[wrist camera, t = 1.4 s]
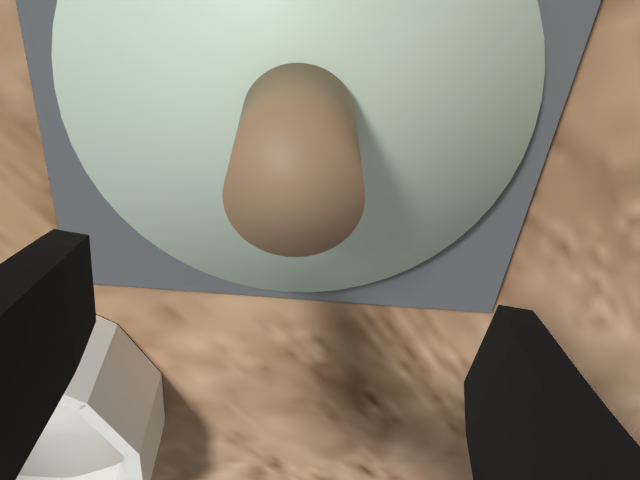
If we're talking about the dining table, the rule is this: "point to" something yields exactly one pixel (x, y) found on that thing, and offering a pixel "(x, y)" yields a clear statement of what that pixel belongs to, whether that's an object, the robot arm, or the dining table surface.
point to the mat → (399, 290)
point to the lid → (299, 126)
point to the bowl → (103, 416)
